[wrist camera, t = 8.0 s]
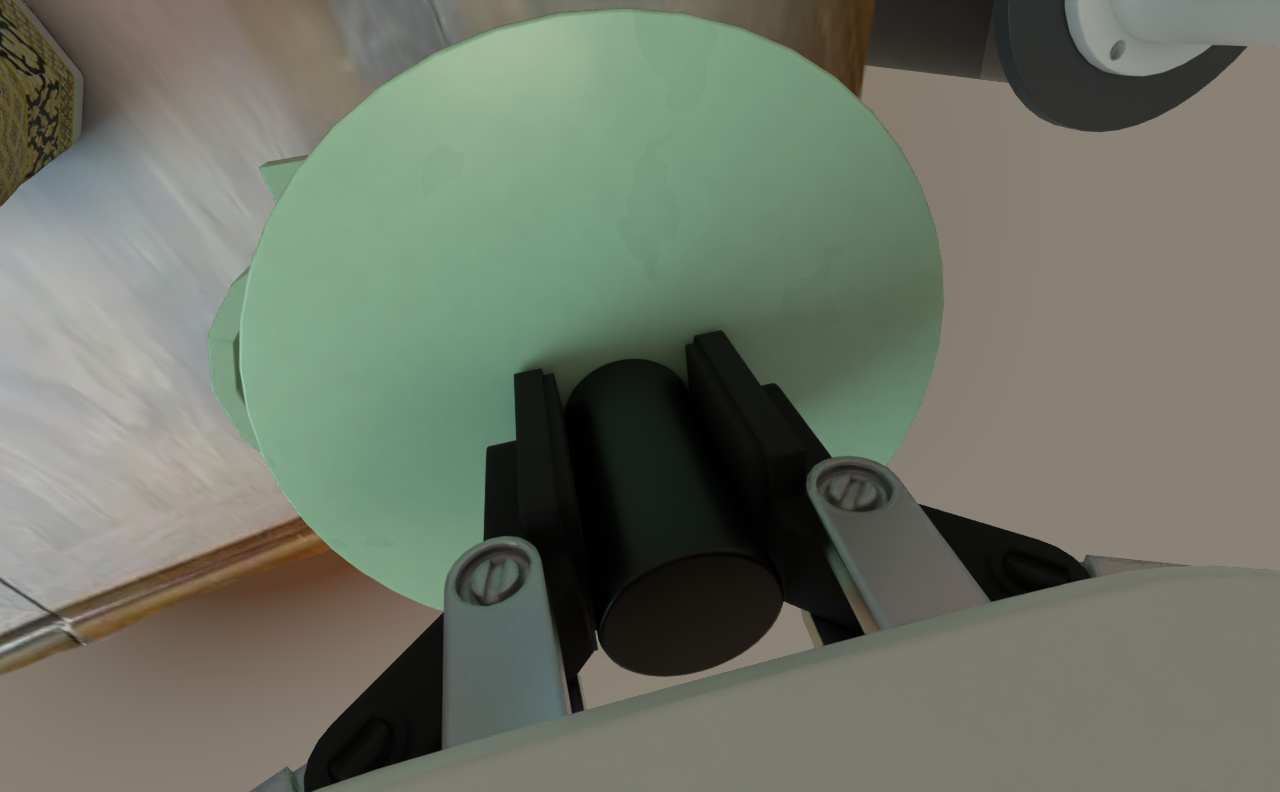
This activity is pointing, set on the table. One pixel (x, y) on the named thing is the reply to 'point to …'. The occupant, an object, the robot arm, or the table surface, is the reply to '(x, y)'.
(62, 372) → the table surface
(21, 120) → the ceramic cup
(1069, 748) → the robot arm
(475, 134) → the lid
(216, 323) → the pot
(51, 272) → the table surface
